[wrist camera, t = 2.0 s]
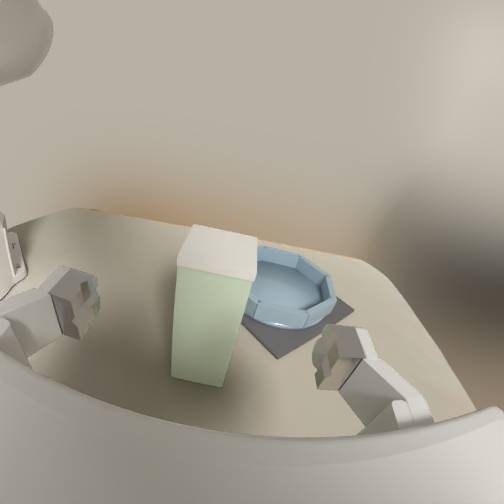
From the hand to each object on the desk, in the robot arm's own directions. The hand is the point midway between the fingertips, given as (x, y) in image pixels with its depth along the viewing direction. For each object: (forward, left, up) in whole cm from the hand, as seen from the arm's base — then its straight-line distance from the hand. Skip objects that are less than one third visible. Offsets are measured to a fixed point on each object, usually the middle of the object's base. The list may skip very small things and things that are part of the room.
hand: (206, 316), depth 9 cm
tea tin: (-9, +8, -19) cm, 23 cm away
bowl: (-15, +26, -19) cm, 35 cm away
